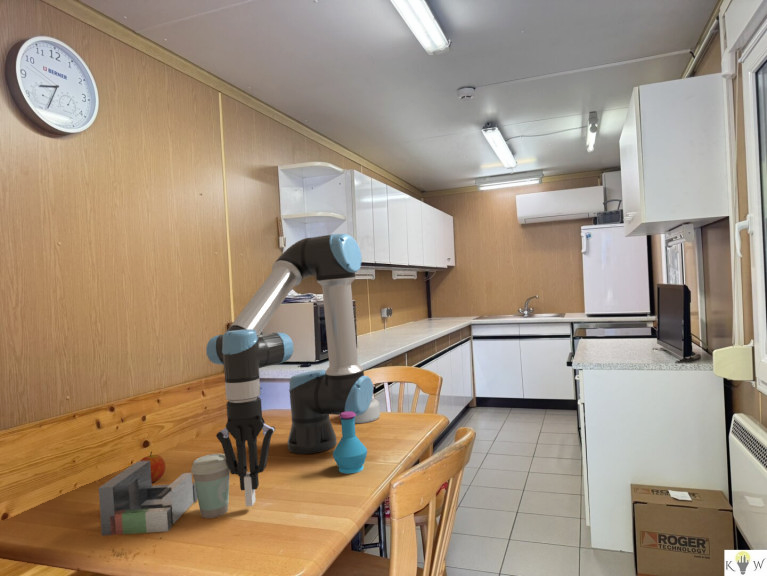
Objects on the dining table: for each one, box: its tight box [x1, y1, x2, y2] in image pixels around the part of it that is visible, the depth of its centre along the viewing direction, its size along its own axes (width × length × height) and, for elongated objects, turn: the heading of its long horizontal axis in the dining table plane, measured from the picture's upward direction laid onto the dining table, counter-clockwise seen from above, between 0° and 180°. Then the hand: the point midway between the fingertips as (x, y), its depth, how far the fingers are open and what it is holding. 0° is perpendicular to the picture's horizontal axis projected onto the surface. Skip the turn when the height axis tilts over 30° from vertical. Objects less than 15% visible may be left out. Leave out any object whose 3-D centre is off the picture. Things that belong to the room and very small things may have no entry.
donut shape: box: [339, 397, 381, 425], centre depth 185 cm, size 15×15×7 cm
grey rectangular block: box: [140, 472, 195, 525], centre depth 110 cm, size 9×14×7 cm, turn 179°
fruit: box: [139, 451, 166, 484], centre depth 134 cm, size 7×7×8 cm
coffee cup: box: [190, 453, 231, 519], centre depth 112 cm, size 9×8×12 cm
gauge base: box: [98, 460, 198, 536], centre depth 112 cm, size 14×16×10 cm
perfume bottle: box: [332, 411, 368, 474], centre depth 133 cm, size 9×9×15 cm
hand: (250, 503), depth 112 cm, fingers closed
